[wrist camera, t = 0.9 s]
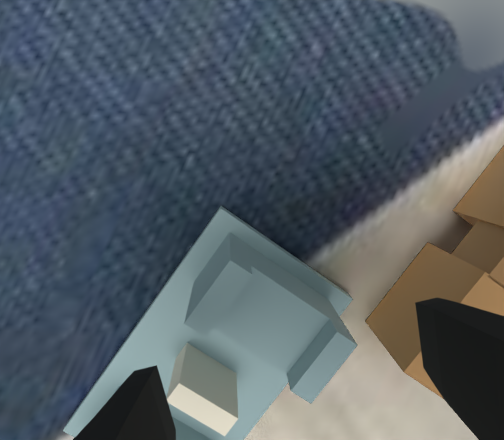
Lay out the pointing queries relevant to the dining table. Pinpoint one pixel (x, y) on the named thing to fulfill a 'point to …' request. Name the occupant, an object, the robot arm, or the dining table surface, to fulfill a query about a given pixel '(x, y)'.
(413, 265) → the brown offset double block
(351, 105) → the dining table surface
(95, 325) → the dining table surface
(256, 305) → the stand
